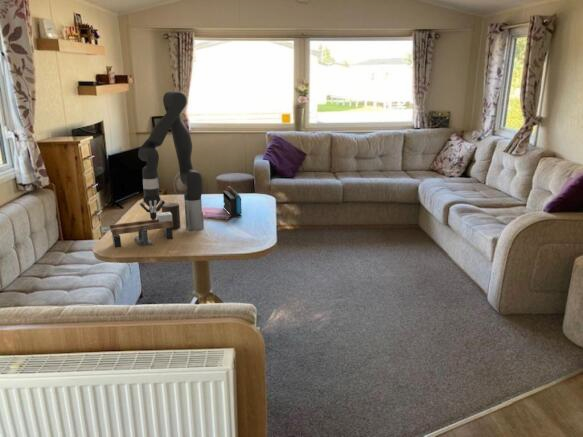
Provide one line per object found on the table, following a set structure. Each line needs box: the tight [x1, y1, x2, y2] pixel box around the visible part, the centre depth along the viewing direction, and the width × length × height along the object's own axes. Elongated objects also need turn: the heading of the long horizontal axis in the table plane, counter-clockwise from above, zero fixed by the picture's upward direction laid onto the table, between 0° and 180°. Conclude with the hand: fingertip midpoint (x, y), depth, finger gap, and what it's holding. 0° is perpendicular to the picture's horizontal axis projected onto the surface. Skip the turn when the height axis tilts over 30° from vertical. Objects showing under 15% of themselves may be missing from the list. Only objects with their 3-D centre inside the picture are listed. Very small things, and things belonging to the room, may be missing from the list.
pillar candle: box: [161, 202, 181, 231], centre depth 263 cm, size 10×10×15 cm
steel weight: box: [156, 212, 172, 223], centre depth 245 cm, size 7×5×5 cm
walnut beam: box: [109, 218, 173, 235], centre depth 241 cm, size 30×9×3 cm, turn 118°
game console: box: [222, 185, 242, 218], centre depth 292 cm, size 28×6×15 cm, turn 21°
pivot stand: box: [111, 227, 174, 249], centre depth 242 cm, size 29×14×10 cm, turn 118°
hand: (153, 219), depth 243 cm, fingers closed
